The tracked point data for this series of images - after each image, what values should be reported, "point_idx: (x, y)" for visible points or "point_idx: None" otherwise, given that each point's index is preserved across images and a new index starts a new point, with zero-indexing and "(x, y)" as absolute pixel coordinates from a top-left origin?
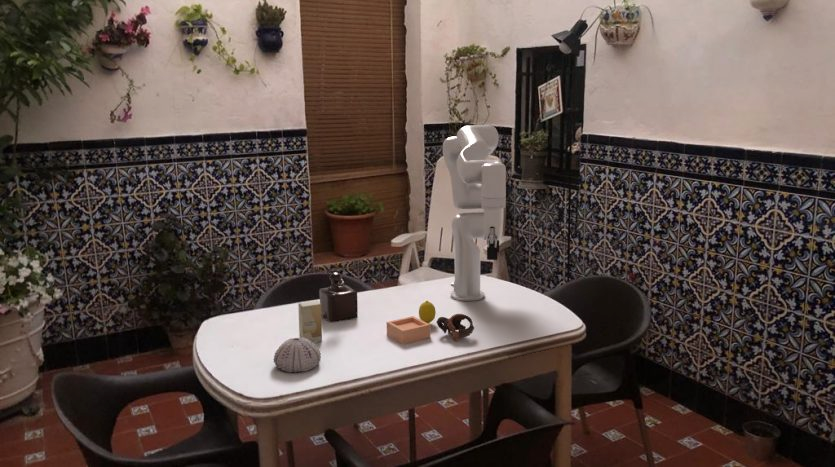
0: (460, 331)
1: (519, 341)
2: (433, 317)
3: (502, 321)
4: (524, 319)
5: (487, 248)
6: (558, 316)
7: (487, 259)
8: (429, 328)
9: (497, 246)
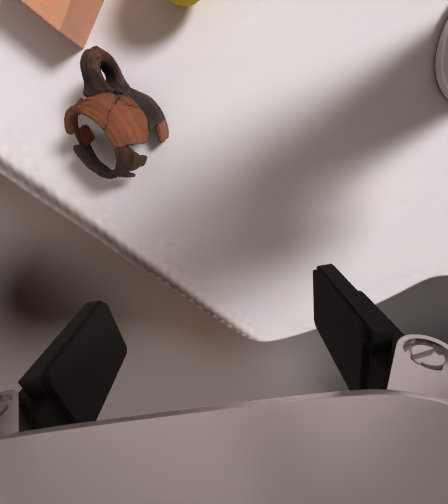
0: (75, 152)
1: (157, 269)
2: (175, 3)
3: (266, 211)
4: (290, 253)
5: (30, 374)
6: None
7: (91, 302)
8: (64, 34)
9: (331, 350)
